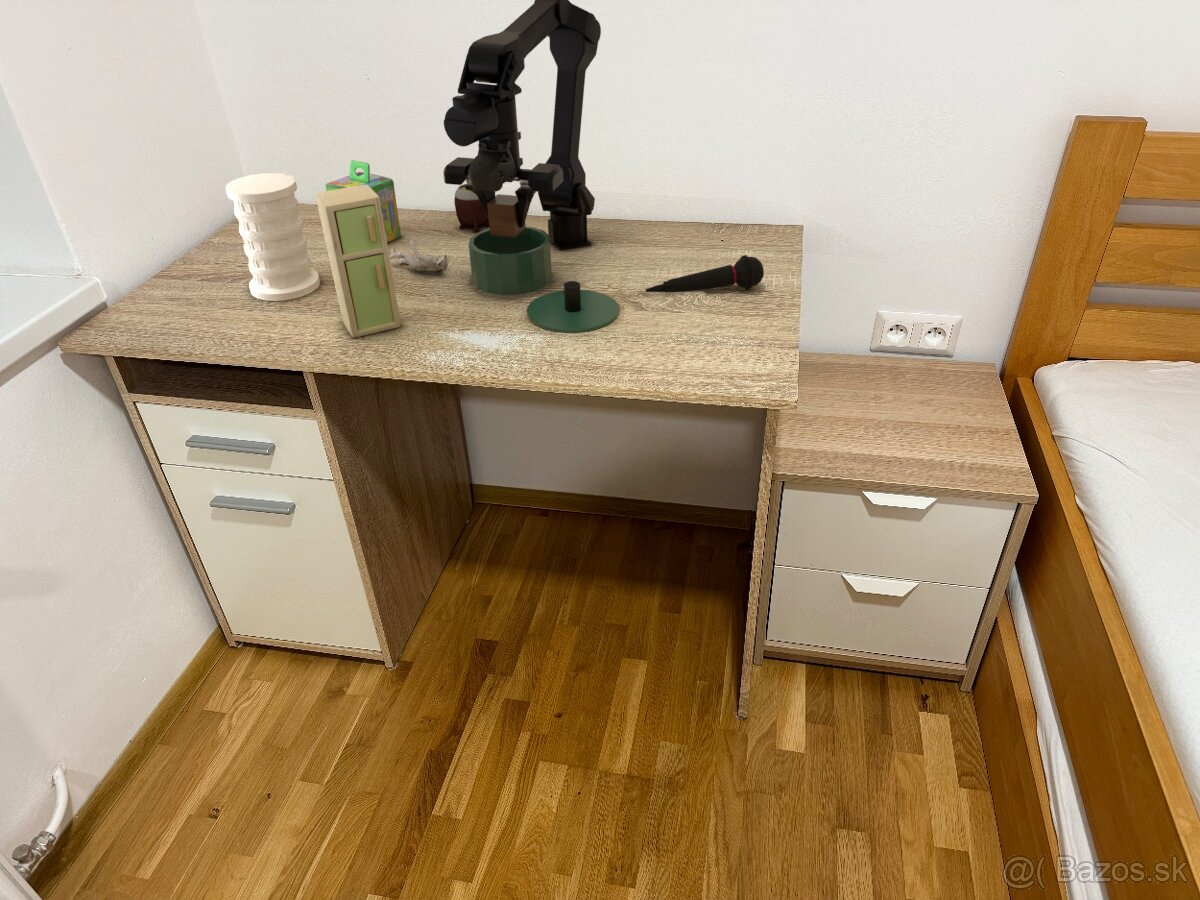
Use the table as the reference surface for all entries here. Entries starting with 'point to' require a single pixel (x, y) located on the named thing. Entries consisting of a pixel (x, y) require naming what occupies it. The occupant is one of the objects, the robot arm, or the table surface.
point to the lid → (572, 310)
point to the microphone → (717, 277)
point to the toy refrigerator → (359, 259)
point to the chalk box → (381, 188)
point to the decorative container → (273, 236)
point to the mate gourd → (469, 210)
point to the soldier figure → (420, 260)
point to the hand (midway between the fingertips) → (507, 225)
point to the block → (504, 216)
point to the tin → (510, 261)
